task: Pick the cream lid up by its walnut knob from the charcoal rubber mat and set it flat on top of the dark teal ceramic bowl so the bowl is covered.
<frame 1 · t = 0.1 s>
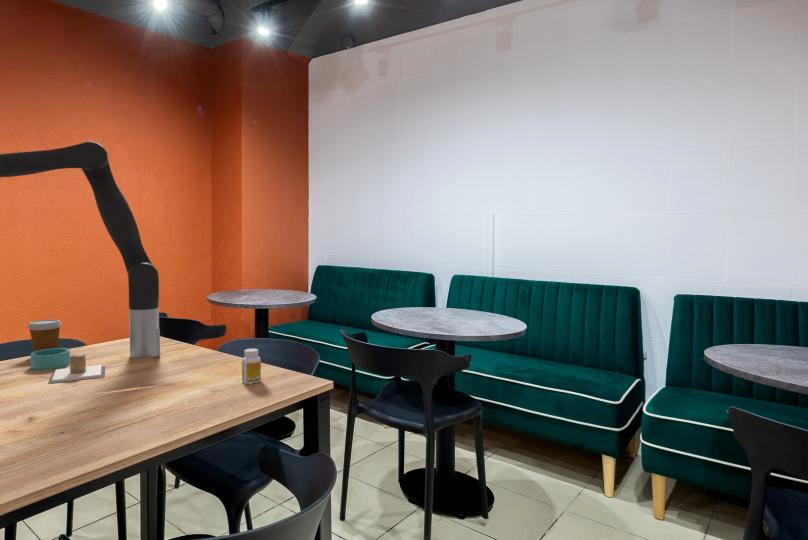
disposable coffee cup: (46, 355, 174), on the table
bowl: (51, 367, 160), on the table
mat: (78, 376, 151), on the table
supplement bottle: (251, 382, 149), on the table
lid: (78, 374, 151), resting on mat
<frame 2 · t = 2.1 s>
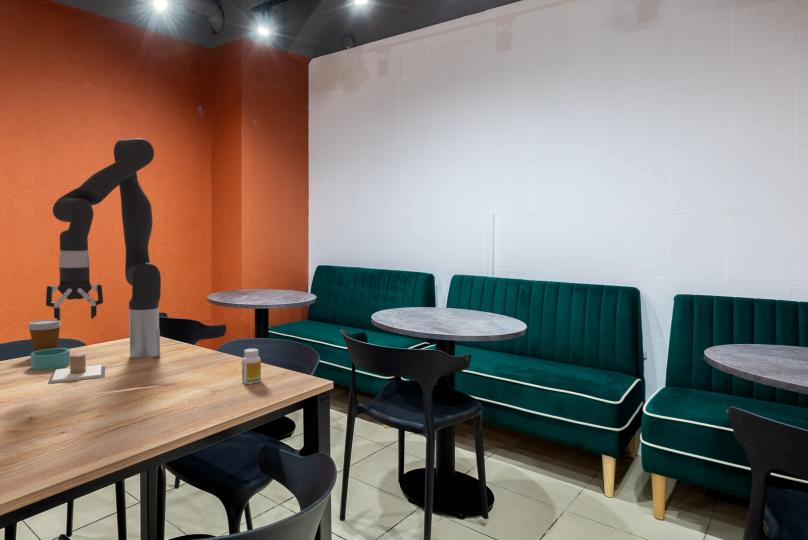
hand: (75, 319, 149), 18 cm above the table, fingers open, 8 cm apart
nothing on the table moved.
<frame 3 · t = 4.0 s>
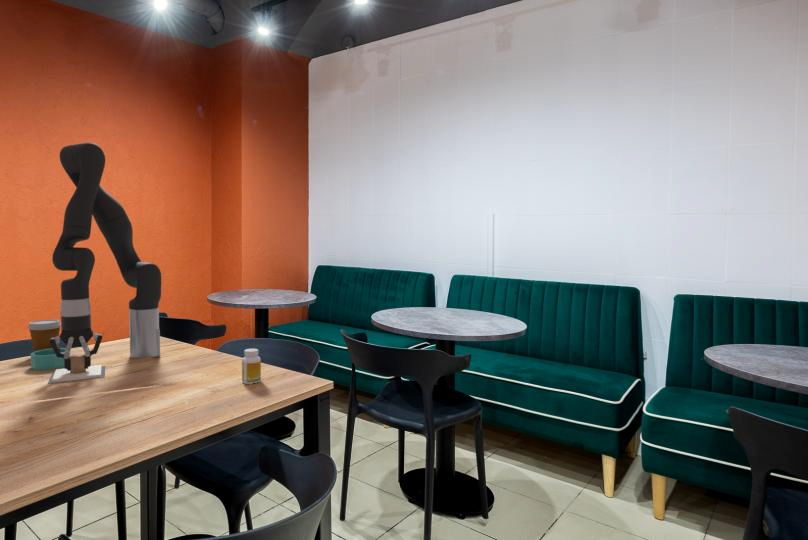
hand: (77, 368, 151), 2 cm above the table, fingers closed on lid, 4 cm apart
lid: (78, 374, 151), resting on mat, touching gripper
everything else where it was.
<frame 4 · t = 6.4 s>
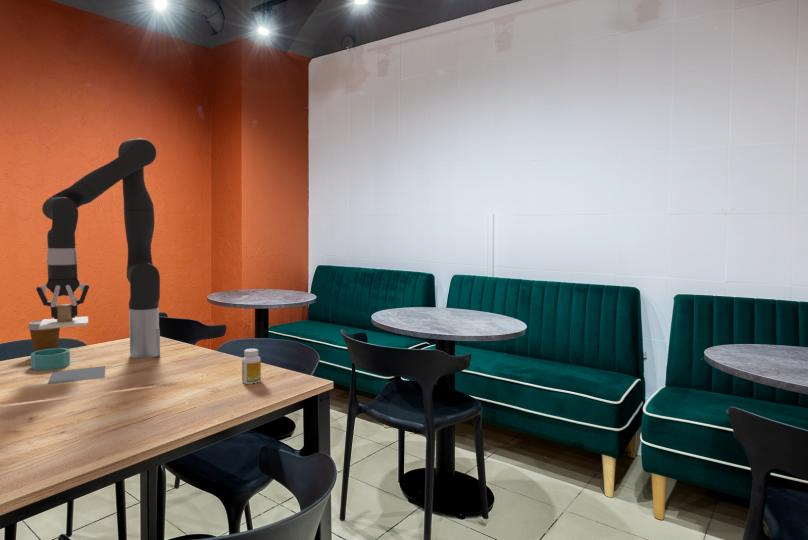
hand: (64, 317, 153), 17 cm above the table, fingers closed on lid, 4 cm apart
lid: (65, 323, 153), point 15 cm above the table, touching gripper
everything else where it was.
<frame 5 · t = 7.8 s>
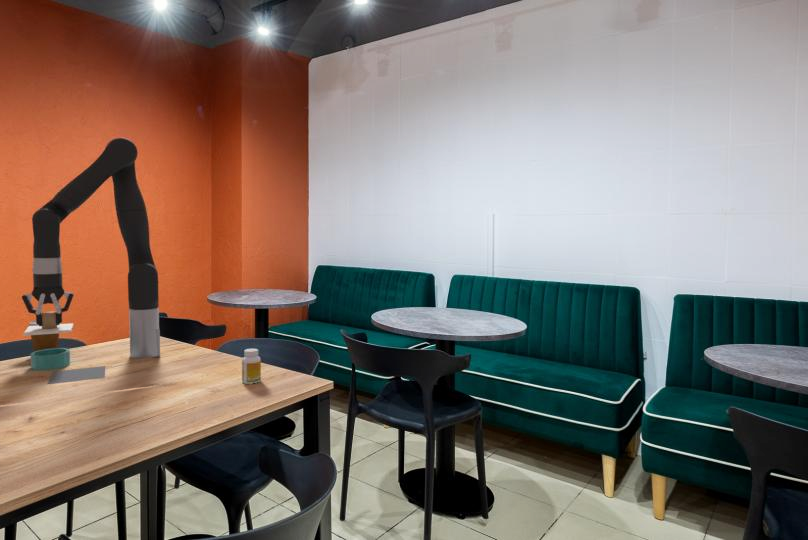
hand: (49, 325, 158), 14 cm above the table, fingers closed on lid, 4 cm apart
lid: (49, 330, 159), point 12 cm above the table, touching gripper
everything else where it was.
when the fingers open (8 cm above the table, at t = 9.1 s): lid drops 1 cm, resting on bowl.
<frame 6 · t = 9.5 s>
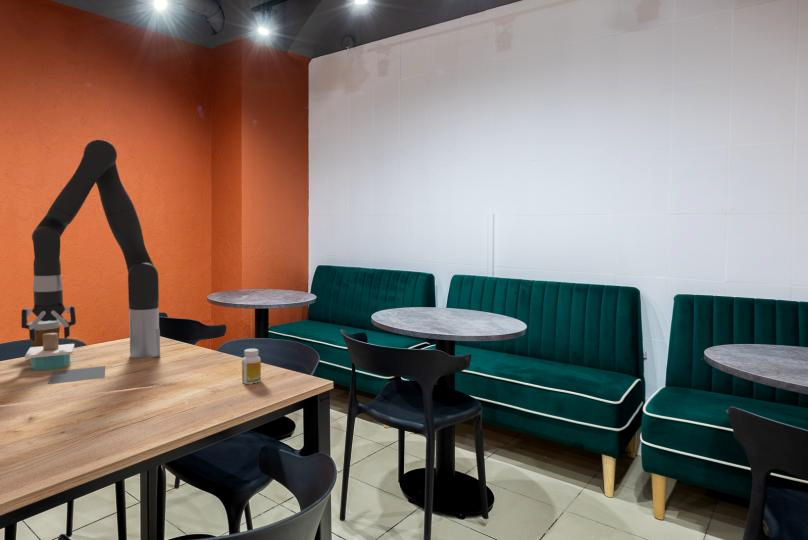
hand: (50, 339, 159), 9 cm above the table, fingers open, 8 cm apart
lid: (50, 351, 159), point 5 cm above the table, touching bowl
everything else where it was.
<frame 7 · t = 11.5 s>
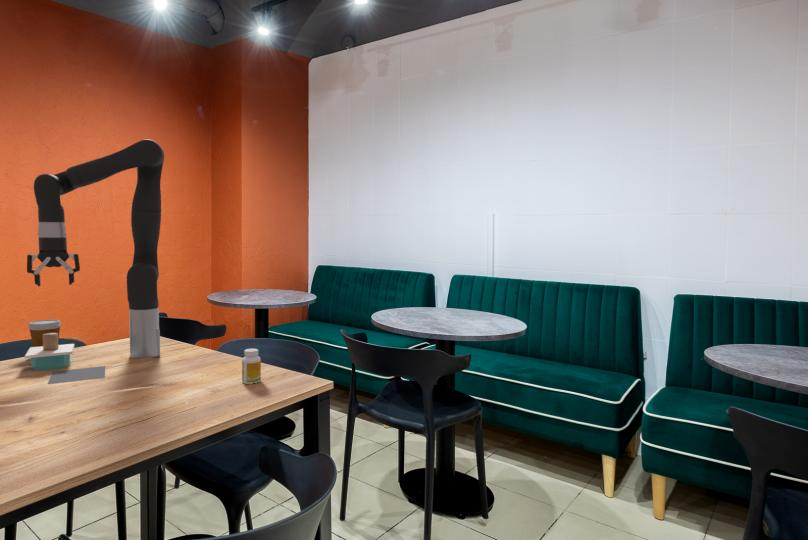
hand: (54, 285, 164), 26 cm above the table, fingers open, 8 cm apart
nothing on the table moved.
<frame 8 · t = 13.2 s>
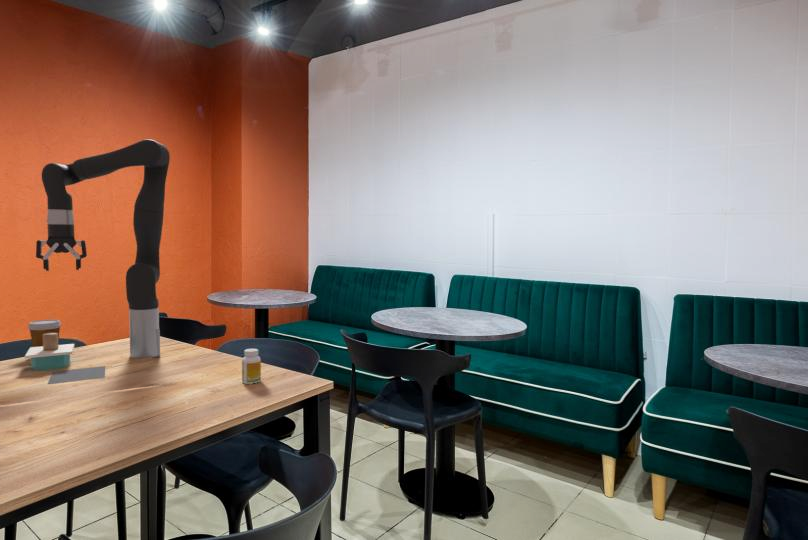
hand: (62, 270, 171), 30 cm above the table, fingers open, 8 cm apart
nothing on the table moved.
at the end: lid 0.1 cm off-centre on the bowl, point 5.0 cm above the bowl's base; lid tilted 0°; the gripper is holding nothing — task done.
